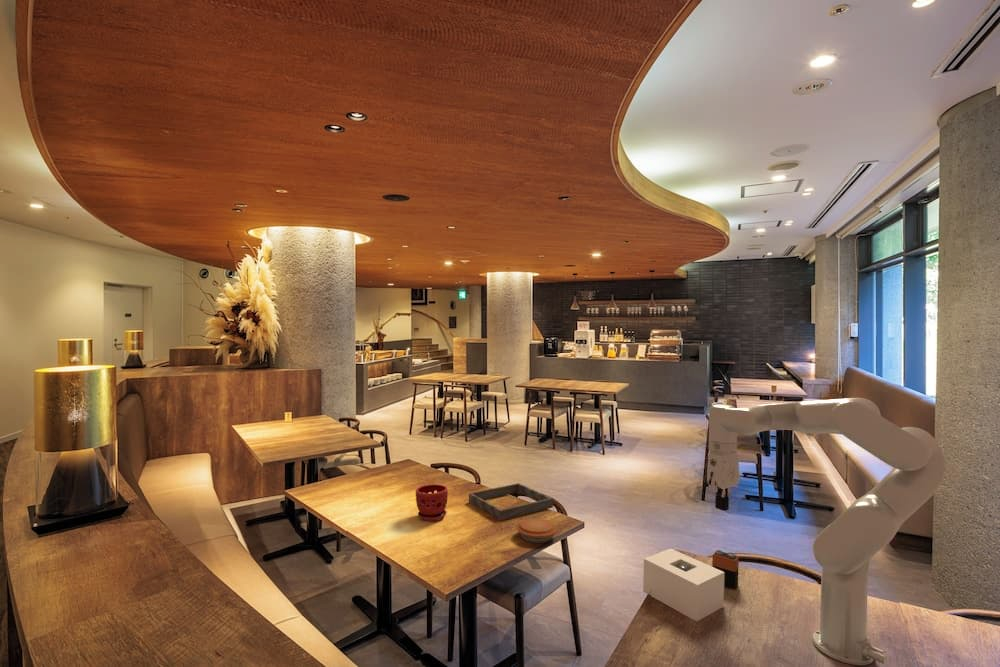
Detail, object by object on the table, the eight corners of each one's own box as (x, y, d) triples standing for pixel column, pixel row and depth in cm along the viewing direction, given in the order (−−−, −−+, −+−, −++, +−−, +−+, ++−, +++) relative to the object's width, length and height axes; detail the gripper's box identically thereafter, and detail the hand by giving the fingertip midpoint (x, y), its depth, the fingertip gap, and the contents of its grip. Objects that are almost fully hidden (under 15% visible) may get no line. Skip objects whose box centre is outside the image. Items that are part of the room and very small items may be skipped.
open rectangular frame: (552, 507, 217) (552, 498, 217) (500, 520, 201) (500, 511, 201) (518, 491, 237) (518, 483, 237) (468, 502, 221) (469, 493, 221)
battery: (734, 590, 150) (735, 558, 150) (711, 583, 154) (712, 551, 154) (738, 584, 154) (739, 553, 154) (715, 577, 158) (716, 546, 158)
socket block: (723, 606, 141) (724, 572, 141) (696, 621, 134) (697, 585, 134) (670, 579, 156) (670, 548, 156) (643, 591, 149) (643, 558, 148)
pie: (554, 547, 177) (555, 534, 177) (512, 543, 181) (512, 529, 180) (558, 530, 193) (558, 518, 192) (519, 526, 196) (519, 514, 196)
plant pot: (450, 512, 209) (450, 483, 209) (443, 524, 196) (444, 494, 196) (420, 510, 211) (420, 482, 211) (411, 522, 198) (412, 492, 197)
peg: (692, 594, 144) (693, 567, 144) (684, 598, 142) (684, 571, 142) (680, 588, 148) (681, 562, 147) (672, 592, 145) (673, 565, 145)
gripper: (720, 453, 138) (719, 518, 138) (748, 446, 146) (747, 507, 146) (696, 447, 144) (695, 510, 144) (724, 441, 152) (723, 500, 152)
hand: (721, 509), depth 145 cm, fingers closed
